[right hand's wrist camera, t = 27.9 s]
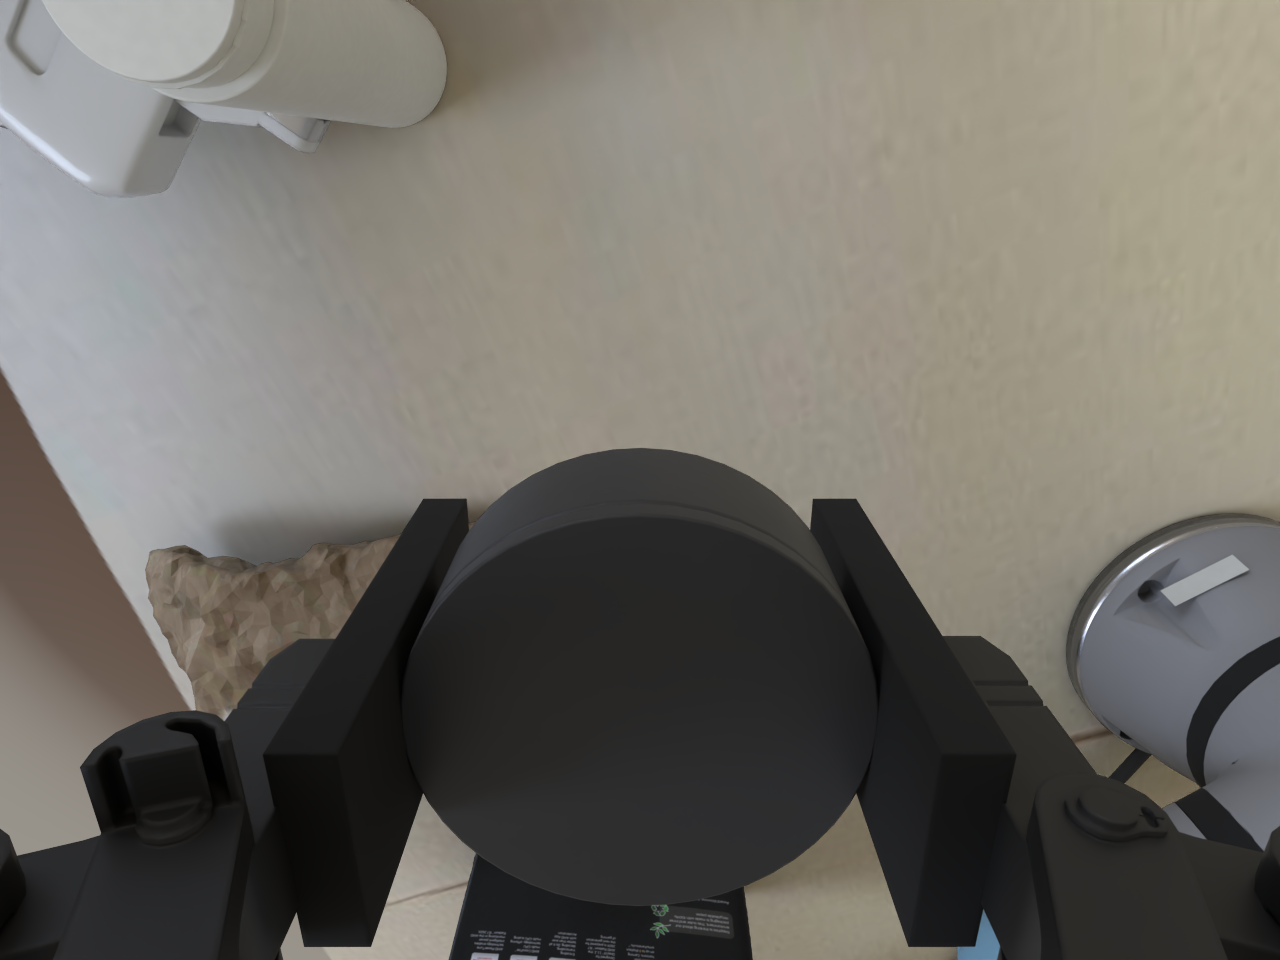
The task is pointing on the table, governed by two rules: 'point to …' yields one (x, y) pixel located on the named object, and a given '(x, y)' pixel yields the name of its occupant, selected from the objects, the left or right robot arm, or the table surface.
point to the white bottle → (270, 54)
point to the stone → (252, 609)
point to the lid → (639, 683)
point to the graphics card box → (592, 925)
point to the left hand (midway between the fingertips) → (358, 58)
